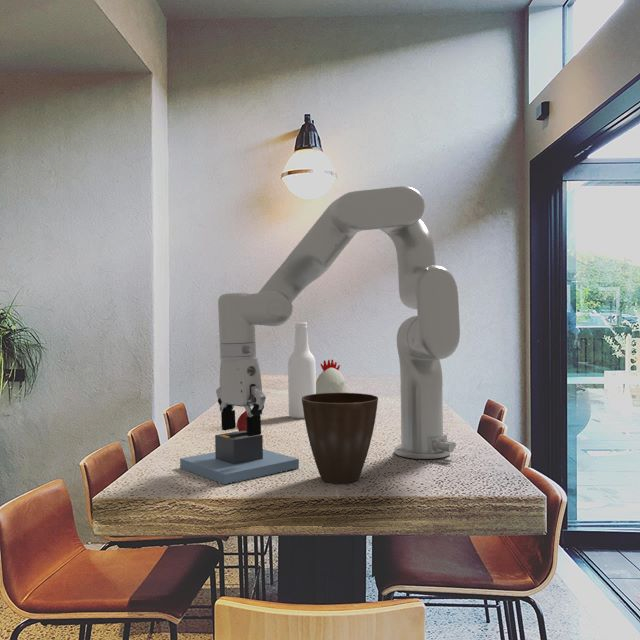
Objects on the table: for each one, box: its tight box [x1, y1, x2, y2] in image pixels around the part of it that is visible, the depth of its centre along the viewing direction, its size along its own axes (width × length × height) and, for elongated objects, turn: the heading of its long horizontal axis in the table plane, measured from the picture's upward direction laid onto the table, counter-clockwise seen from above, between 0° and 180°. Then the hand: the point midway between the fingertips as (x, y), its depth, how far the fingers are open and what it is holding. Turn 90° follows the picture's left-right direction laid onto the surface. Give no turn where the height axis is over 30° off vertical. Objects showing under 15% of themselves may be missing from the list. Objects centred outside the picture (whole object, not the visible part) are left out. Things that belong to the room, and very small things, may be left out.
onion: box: [236, 410, 248, 431], centre depth 159 cm, size 6×6×8 cm
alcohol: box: [287, 321, 317, 420], centre depth 193 cm, size 9×9×30 cm
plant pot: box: [302, 392, 379, 484], centre depth 119 cm, size 15×15×16 cm
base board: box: [179, 448, 300, 485], centre depth 128 cm, size 18×18×2 cm
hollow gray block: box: [214, 431, 264, 464], centre depth 128 cm, size 7×7×5 cm
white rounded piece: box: [316, 359, 350, 394], centre depth 237 cm, size 14×14×15 cm
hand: (241, 432), depth 128 cm, fingers open, 9 cm apart
